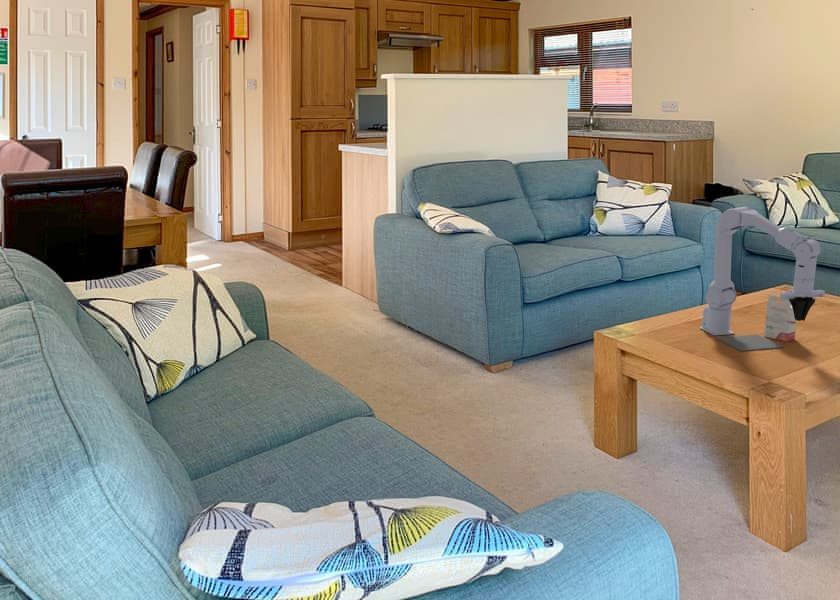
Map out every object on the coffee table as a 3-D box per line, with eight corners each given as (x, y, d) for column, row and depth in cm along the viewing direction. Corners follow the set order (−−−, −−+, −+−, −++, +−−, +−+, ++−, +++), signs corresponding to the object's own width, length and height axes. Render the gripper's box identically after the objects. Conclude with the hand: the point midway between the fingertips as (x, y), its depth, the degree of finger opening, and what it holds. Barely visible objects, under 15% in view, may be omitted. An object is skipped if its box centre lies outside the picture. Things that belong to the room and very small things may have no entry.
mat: (716, 338, 261) (716, 337, 261) (757, 335, 264) (757, 334, 263) (741, 351, 247) (741, 350, 247) (783, 347, 250) (784, 346, 250)
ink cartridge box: (795, 339, 259) (800, 297, 255) (787, 342, 256) (792, 299, 252) (771, 333, 266) (775, 292, 262) (763, 336, 263) (767, 294, 259)
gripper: (792, 282, 236) (787, 325, 239) (833, 279, 238) (828, 321, 242) (777, 277, 242) (773, 319, 246) (817, 274, 245) (813, 315, 248)
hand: (799, 320), depth 244 cm, fingers closed
